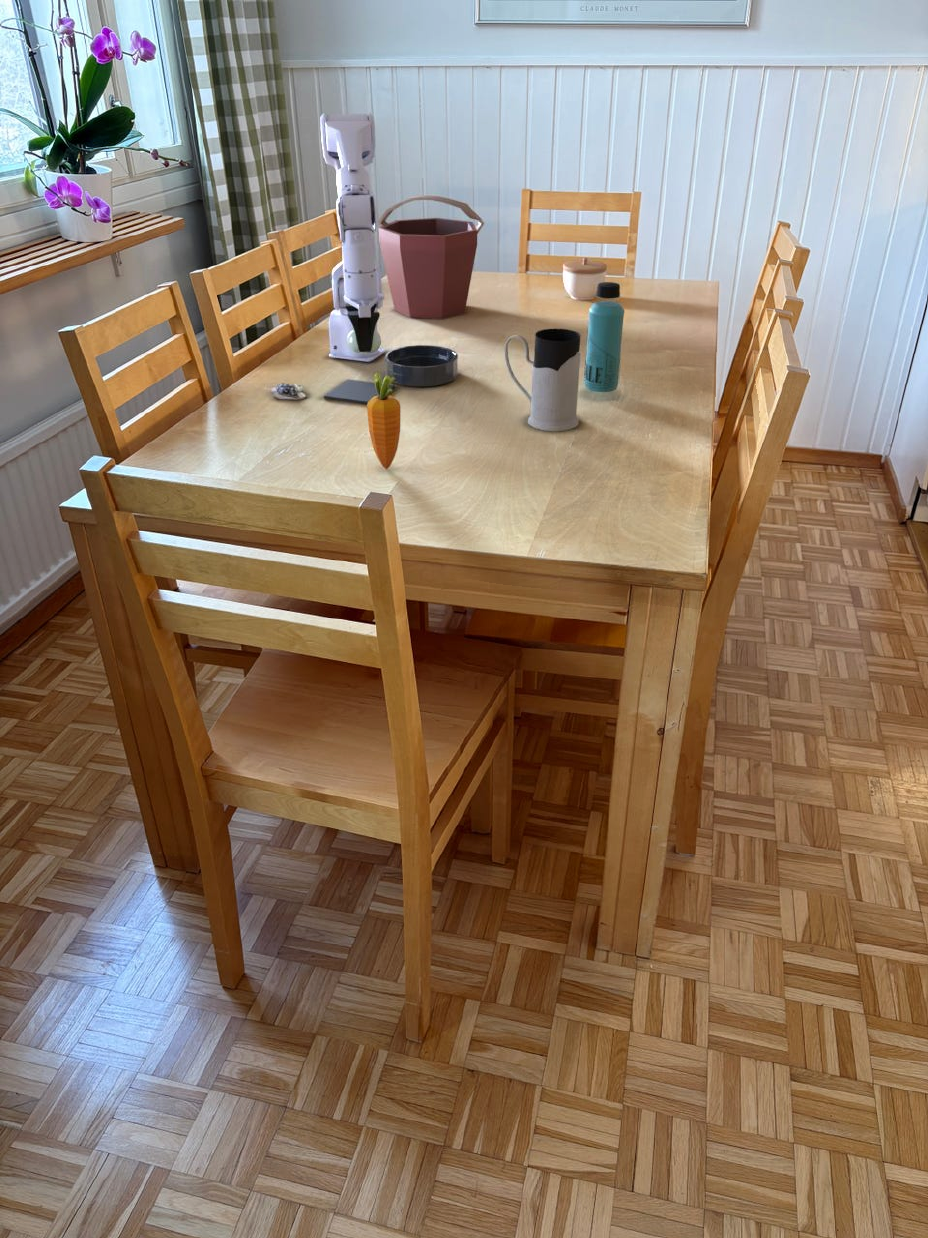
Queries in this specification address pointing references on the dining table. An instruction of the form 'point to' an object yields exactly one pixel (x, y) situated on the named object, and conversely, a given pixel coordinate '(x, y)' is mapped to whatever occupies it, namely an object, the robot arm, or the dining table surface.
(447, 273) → the bucket
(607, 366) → the beverage bottle
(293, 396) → the blueberries
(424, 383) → the basin
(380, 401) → the carrot
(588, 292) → the trinket box
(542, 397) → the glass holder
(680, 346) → the dining table surface
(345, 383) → the mat
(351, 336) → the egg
